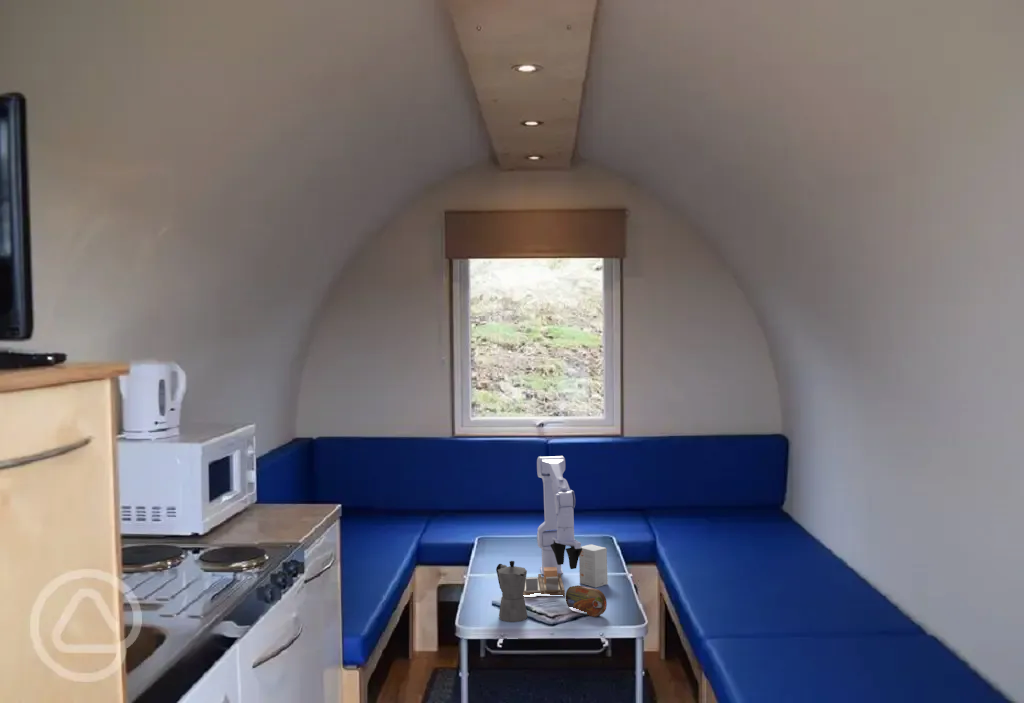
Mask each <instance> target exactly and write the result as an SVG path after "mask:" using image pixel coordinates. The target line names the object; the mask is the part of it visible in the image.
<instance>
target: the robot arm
mask: <svg viewBox="0 0 1024 703" xmlns="http://www.w3.org/2000/svg"><path fill="white" fill-rule="evenodd" d="M565 471H566V458H565V457H564V456H563V455H555V456H538V457H537V459H536V472H537V473H536V474H537V477H538V478H541V479H542V486H543V510H544V514H543V516H544V521H543V522H542V523H541V524H540V525H539V526H538V527H537V533H536V534H537V535H536V540H537V541H536V543H537V546H538V547H539V548H540V549H541V566H540V567H539V569H540V574H541V576H542V575H543V576H544V567H556V568H557V575H558V573H560V574H561V575H563V574H564V570H563V568H562V565H564V564H565V553H567V557H568V558H567V559H568V563H569V569H570V570H574V569H575V570H576V569H577V566H578V563H579V555H580V553H581V551H582V548H581V547H582V543H581V542H580V541H578V540H577V539H575V520H574V519H575V518H574V515H575V514H574V509H575V506H576V495H575V491H574V490H572V489H571V488H570V485H569V483H568V480H567V479H566V478H564V477H563V476H564V475H563V474H564V472H565ZM567 546H568V548H566V547H567Z"/></svg>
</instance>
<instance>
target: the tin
mask: <svg viewBox="0 0 1024 703" xmlns="http://www.w3.org/2000/svg"><path fill="white" fill-rule="evenodd" d="M564 597H565V602H566V605H567V607H568V608H569V607H573V608H576V609H579V610H581V611H584V612H587V614H588V615H589V616H588V615H587V616H588V617H593V618H596V617H598V616H600V615H603V614H604V613H605V612H606V610H607V605H608V604H607V602H608V601H607V597H606V596H605V594H604V593H603V591H601V590H600V589H599V588H598V589H597V588H594V587H590V586H585V585H584V586H583V585H573V586H570V587H569V588H567V590H566V591H565V596H564Z"/></svg>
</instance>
